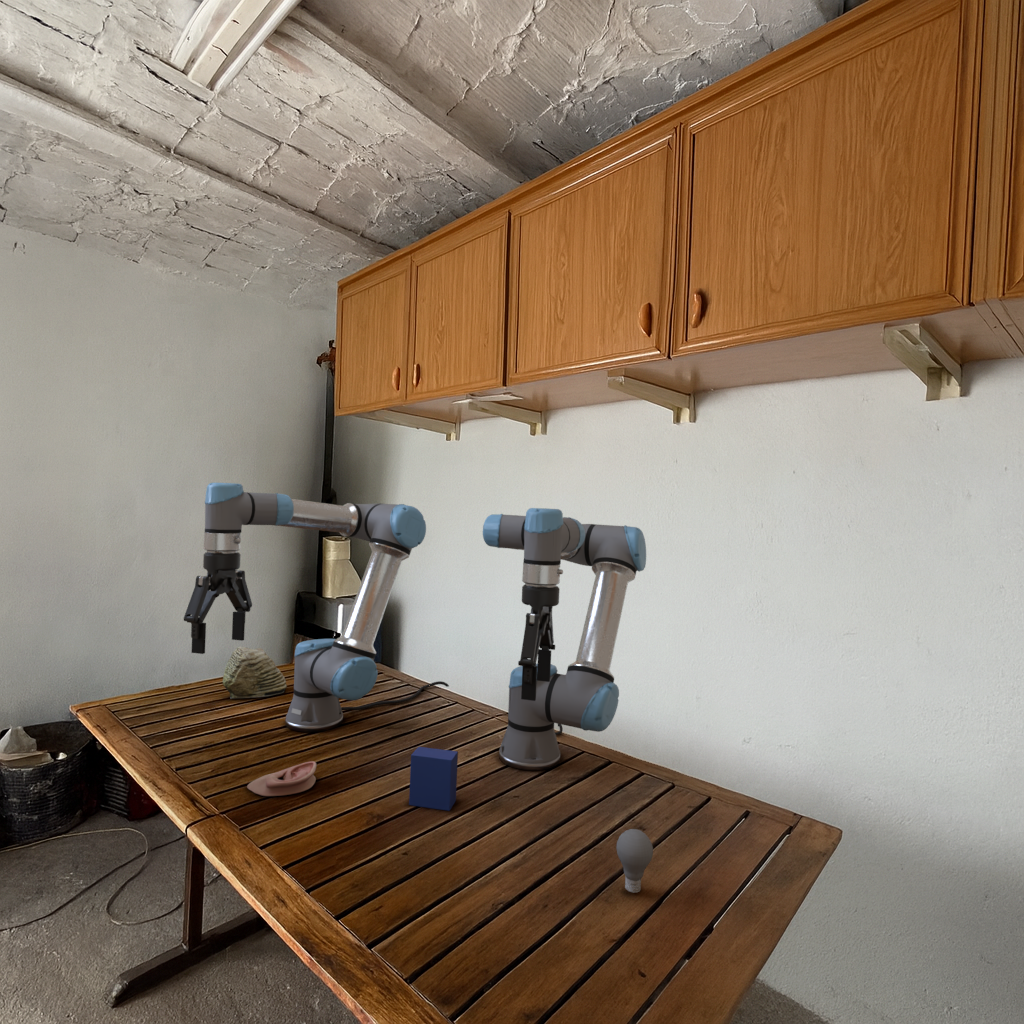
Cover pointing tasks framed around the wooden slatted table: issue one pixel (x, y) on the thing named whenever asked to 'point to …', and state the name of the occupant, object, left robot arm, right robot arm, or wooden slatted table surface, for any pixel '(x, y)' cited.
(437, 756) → the brick
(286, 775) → the anatomical model
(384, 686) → the wooden slatted table surface
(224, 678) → the fossil
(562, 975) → the wooden slatted table surface
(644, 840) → the light bulb
